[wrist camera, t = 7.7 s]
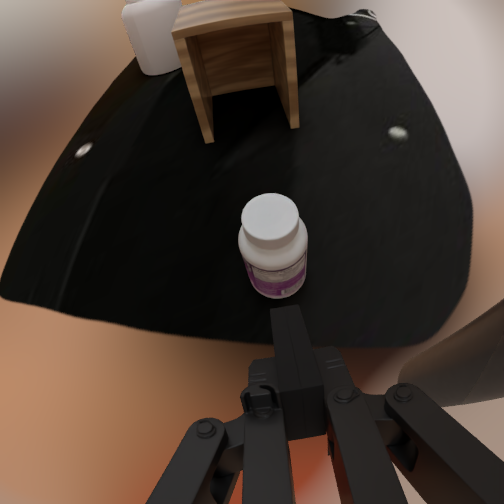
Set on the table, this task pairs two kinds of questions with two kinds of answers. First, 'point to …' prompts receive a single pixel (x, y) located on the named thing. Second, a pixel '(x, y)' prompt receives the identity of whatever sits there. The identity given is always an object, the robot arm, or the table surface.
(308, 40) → the table surface
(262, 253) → the pill bottle
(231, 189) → the table surface
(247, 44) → the cubby
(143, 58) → the white jar
